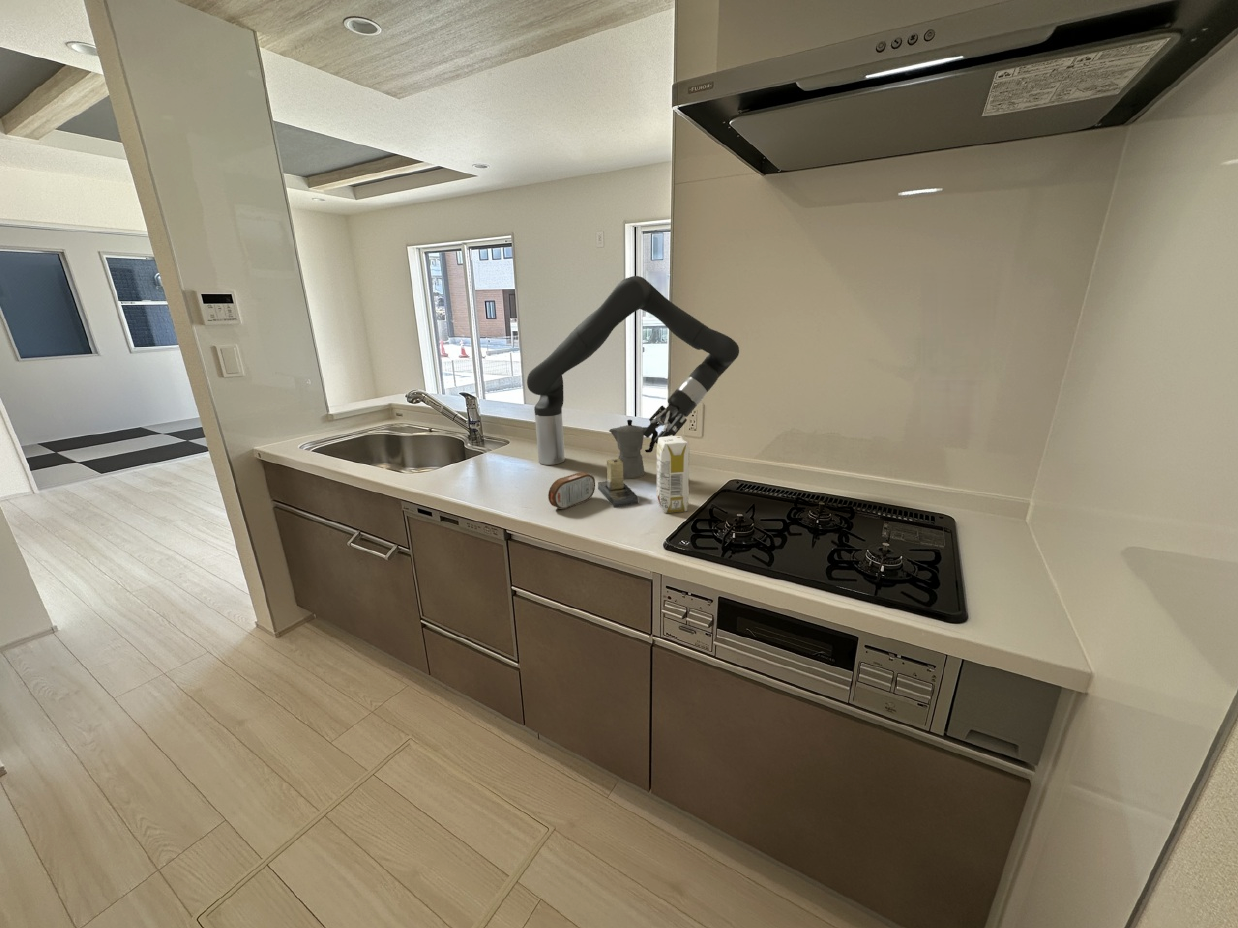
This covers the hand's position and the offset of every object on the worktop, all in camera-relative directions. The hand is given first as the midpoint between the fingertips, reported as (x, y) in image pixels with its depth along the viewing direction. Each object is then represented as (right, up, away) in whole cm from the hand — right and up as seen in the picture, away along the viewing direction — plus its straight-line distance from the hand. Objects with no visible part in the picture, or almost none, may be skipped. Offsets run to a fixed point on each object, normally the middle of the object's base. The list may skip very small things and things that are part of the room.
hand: (650, 439), depth 139 cm
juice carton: (+5, -19, -9) cm, 22 cm away
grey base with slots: (-10, -16, 0) cm, 19 cm away
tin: (-22, -18, -5) cm, 29 cm away
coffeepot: (-4, -10, +17) cm, 21 cm away
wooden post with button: (-10, -16, +1) cm, 19 cm away
